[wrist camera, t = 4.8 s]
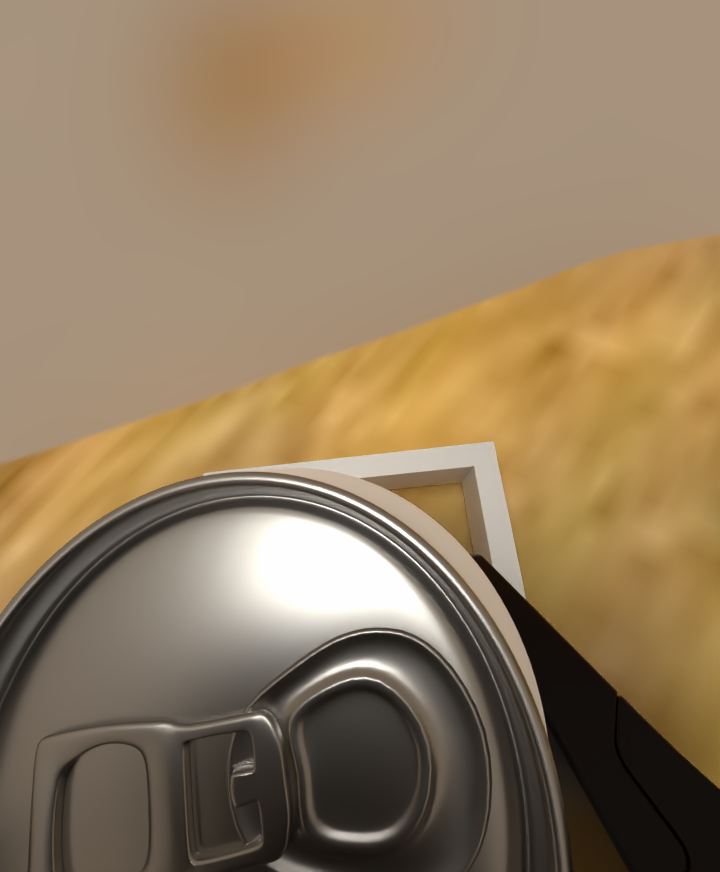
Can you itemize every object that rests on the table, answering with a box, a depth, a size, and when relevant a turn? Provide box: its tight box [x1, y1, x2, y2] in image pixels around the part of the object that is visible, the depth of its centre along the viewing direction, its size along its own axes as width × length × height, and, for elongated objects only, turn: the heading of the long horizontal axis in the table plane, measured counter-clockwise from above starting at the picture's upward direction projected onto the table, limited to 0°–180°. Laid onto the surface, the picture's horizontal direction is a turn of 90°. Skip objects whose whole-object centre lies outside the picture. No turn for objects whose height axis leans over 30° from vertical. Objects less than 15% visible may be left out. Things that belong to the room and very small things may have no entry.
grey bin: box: [203, 441, 526, 599], centre depth 13 cm, size 11×11×3 cm
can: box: [0, 468, 573, 872], centre depth 9 cm, size 6×6×12 cm
